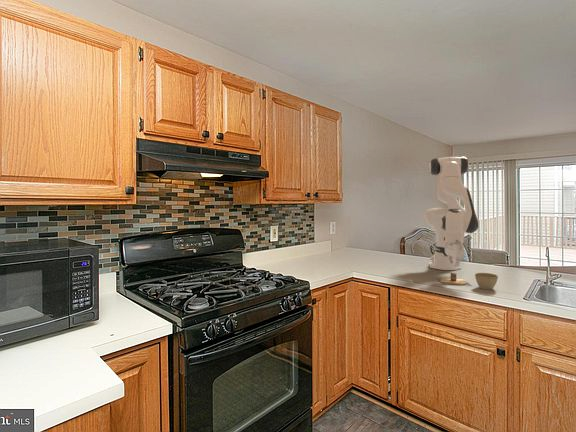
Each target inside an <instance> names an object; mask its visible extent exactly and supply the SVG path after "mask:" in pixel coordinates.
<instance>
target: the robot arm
mask: <svg viewBox="0 0 576 432" xmlns="http://www.w3.org/2000/svg"><path fill="white" fill-rule="evenodd" d="M469 167H470V162H469V159H468V158H467V157H466V156H445V157H440V158H438V157H437V158H436V157H435V158H433V159H431V160H430V163H429V165H428V170H429V172H430V175H432V176H437V177H438V178H437V188H436V189H437V190H436V192H437V193H436V197H437V200H438V201H439V202H441V203H444V204H446V205H447V207H434V208H433V207H432V208H428V209H427V210H425V211H426V212H425V213H424V220H425V222H426V223H427V224H428V225H430V226H431V228H432V229H433V230H434V232H435V238H436V239H435V241H436V245H435V249H434V250H435V253H434V254H433V255H432V256H430V261H429V262H428V264H429V265H428V266H429V268H431V269H437V270H443V271H455V270H456V271H457V270H459V269H460V270H461V269H462V267H461V266H460V263H461V260H464V258H465V249H464V247H465V246H464V244H463V243H464V239H465V238H464V233H466V234H473V233H474V232H477V230H478V229H479V219H478V217H477V214H476V211H475V210H476V209H475V206H474V202H473V198H472V196H471V193H470V190H469V188H468V187H466V186H465V185H464V184H463V181H462V175H464V174H466V173H468V170H469ZM458 199H459V200H460V201H461V202H462V203H463V206H462V204H460V202H459V201H458Z"/></svg>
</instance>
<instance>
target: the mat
mask: <svg viewBox="0 0 576 432" xmlns="http://www.w3.org/2000/svg"><path fill="white" fill-rule="evenodd" d="M440 279H441V278H436V280H437V281H438V282H439V283H440V284H442V285H443V286H451V285H450V284H445V283H442V282H441V281H440ZM455 286H459V287H460V286H462V287H463V286H465V287H472V286H473V285H472V284H470V283H469V282H467V284H465V285H455Z"/></svg>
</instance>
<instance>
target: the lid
mask: <svg viewBox="0 0 576 432" xmlns="http://www.w3.org/2000/svg"><path fill="white" fill-rule="evenodd" d="M439 279H440V281H441V282H442V283H445V284H450V285H449V286H456V285H465V284H467V283H468V281H467V280H465V279H463V278H457V273H456V272H450V277H443V278H439ZM441 282H440V283H441ZM442 283H441V284H442Z"/></svg>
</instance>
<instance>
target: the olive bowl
mask: <svg viewBox="0 0 576 432" xmlns="http://www.w3.org/2000/svg"><path fill="white" fill-rule="evenodd" d="M474 277H475V281H476V283H477V285H478V287H479V289H481V290H487V291H491V290H493V289H494V287H495V286H496V285H497V282H498V278H499V276H498V274H494V273H489V272H477V273H476V272H475V273H474Z"/></svg>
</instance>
